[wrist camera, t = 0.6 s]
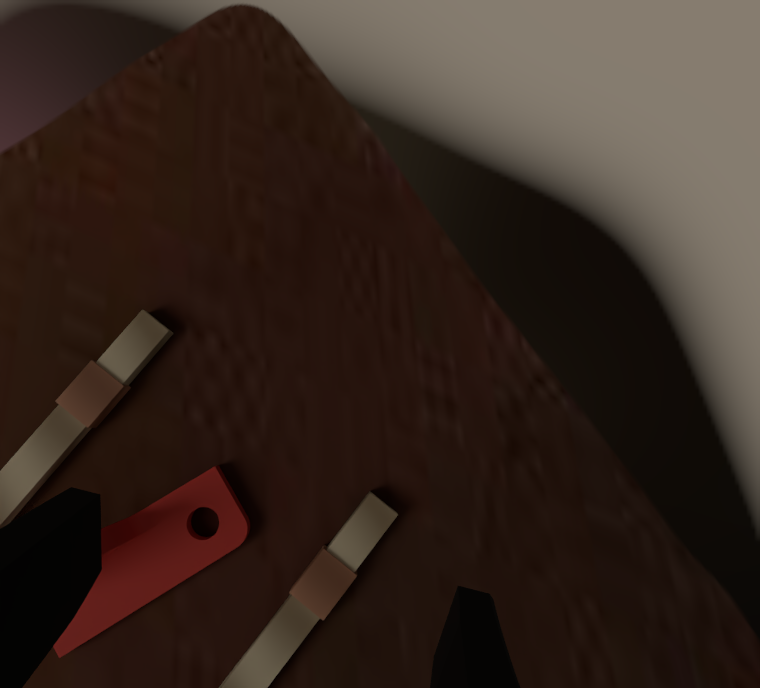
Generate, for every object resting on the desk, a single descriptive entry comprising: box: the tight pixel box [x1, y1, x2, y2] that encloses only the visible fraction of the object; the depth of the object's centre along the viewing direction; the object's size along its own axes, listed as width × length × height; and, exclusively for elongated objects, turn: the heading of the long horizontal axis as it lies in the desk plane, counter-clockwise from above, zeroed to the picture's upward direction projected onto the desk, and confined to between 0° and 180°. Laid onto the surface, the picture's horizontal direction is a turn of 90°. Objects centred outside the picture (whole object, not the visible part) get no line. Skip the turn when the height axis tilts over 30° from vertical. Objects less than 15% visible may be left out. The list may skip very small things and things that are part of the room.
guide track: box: [0, 309, 398, 688], centre depth 35 cm, size 17×19×1 cm
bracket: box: [53, 465, 250, 658], centre depth 31 cm, size 12×4×8 cm, turn 121°
